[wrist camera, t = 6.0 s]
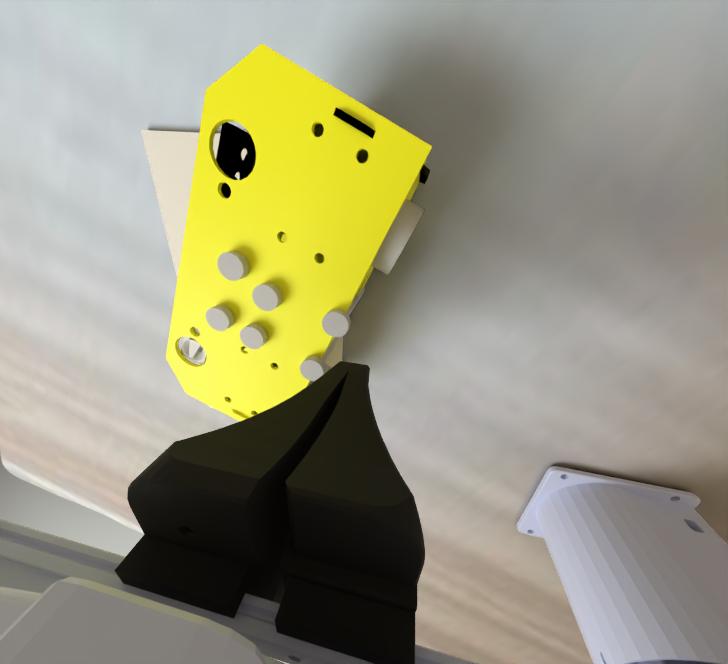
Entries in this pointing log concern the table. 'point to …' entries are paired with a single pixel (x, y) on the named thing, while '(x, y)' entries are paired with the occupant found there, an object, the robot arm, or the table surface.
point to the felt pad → (185, 191)
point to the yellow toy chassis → (284, 231)
